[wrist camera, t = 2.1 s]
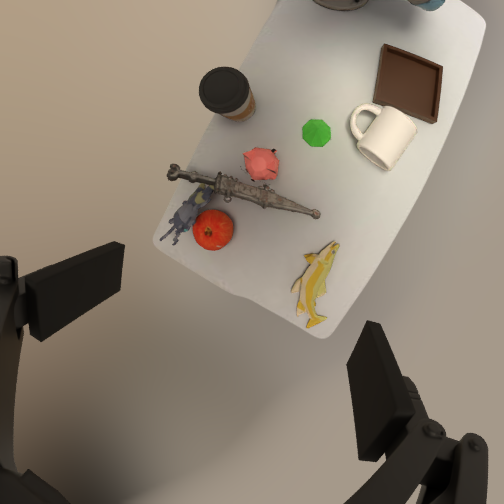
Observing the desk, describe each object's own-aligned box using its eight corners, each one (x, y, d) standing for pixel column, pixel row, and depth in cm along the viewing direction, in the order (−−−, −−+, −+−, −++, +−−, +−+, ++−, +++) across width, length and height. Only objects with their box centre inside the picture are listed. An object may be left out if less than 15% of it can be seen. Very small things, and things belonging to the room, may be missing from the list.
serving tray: (381, 48, 48) (384, 43, 46) (438, 70, 47) (443, 66, 44) (372, 102, 52) (375, 98, 49) (431, 124, 50) (436, 122, 48)
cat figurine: (243, 172, 60) (229, 170, 48) (260, 142, 58) (249, 133, 46) (274, 189, 60) (267, 191, 48) (291, 159, 58) (288, 154, 46)
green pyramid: (324, 114, 54) (326, 107, 49) (336, 141, 55) (339, 137, 50) (296, 124, 56) (295, 118, 50) (308, 152, 57) (308, 148, 51)
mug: (409, 135, 52) (423, 129, 44) (384, 172, 55) (395, 171, 47) (363, 98, 52) (370, 87, 45) (336, 134, 55) (340, 127, 47)
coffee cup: (259, 127, 57) (243, 111, 43) (218, 125, 59) (192, 110, 44) (262, 89, 55) (249, 63, 41) (223, 88, 56) (199, 64, 42)
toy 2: (277, 316, 65) (318, 327, 66) (278, 323, 62) (321, 335, 63) (312, 231, 60) (355, 247, 61) (315, 236, 57) (360, 252, 58)
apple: (244, 233, 63) (235, 241, 55) (212, 252, 65) (200, 262, 57) (223, 200, 62) (212, 203, 54) (193, 220, 64) (178, 226, 56)
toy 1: (203, 189, 66) (164, 245, 63) (191, 178, 64) (150, 234, 61) (236, 184, 54) (188, 254, 50) (221, 170, 52) (170, 240, 48)
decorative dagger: (315, 206, 62) (172, 161, 54) (320, 199, 60) (174, 151, 52) (317, 234, 58) (162, 187, 50) (324, 227, 56) (164, 178, 48)
